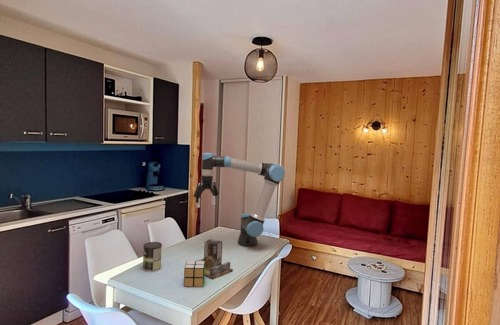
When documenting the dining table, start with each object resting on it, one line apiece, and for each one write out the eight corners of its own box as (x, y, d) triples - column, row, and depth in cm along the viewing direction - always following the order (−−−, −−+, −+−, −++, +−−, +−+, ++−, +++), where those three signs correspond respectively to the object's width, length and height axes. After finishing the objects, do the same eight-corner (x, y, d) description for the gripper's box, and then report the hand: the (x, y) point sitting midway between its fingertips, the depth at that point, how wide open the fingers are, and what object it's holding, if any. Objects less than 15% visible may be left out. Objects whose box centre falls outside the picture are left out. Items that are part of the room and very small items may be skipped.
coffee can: (143, 272, 165) (143, 248, 164) (142, 265, 174) (142, 242, 174) (162, 270, 169) (163, 246, 168) (160, 263, 179) (160, 241, 178)
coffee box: (221, 267, 174) (223, 241, 173) (216, 272, 168) (217, 244, 167) (208, 265, 177) (209, 238, 176) (202, 268, 171) (204, 241, 170)
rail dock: (212, 262, 185) (212, 254, 184) (232, 271, 173) (233, 262, 172) (191, 269, 173) (192, 260, 172) (212, 279, 161) (212, 270, 160)
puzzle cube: (186, 278, 161) (186, 260, 161) (204, 278, 162) (205, 260, 161) (183, 287, 151) (184, 268, 151) (203, 287, 152) (204, 268, 151)
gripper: (217, 174, 212) (215, 203, 213) (188, 175, 193) (187, 207, 194) (224, 175, 207) (223, 205, 208) (196, 176, 188) (194, 209, 189)
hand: (205, 206), depth 201 cm, fingers open, 13 cm apart
